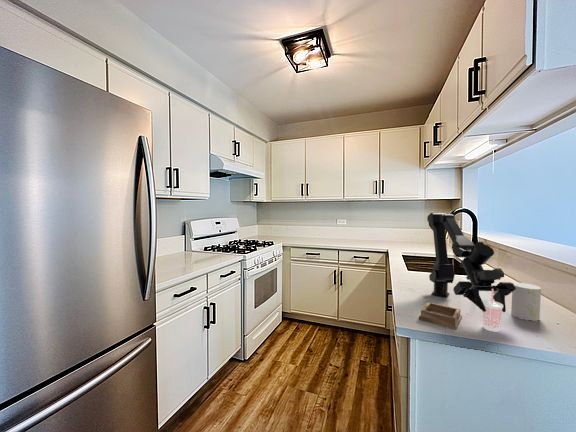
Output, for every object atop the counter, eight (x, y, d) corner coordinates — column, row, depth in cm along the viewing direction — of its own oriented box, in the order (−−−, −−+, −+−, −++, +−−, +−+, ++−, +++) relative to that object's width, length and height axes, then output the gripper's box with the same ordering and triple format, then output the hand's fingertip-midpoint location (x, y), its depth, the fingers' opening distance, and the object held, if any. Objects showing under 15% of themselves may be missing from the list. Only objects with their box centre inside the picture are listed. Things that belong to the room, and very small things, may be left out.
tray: (427, 309, 108) (427, 301, 108) (461, 318, 100) (462, 309, 100) (418, 319, 99) (418, 310, 99) (456, 329, 91) (456, 319, 91)
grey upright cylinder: (529, 322, 97) (531, 290, 96) (505, 313, 104) (507, 283, 104) (545, 319, 99) (546, 288, 98) (520, 311, 107) (522, 281, 106)
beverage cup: (504, 328, 92) (505, 289, 91) (500, 334, 88) (501, 293, 87) (482, 322, 96) (484, 285, 95) (478, 328, 92) (479, 288, 91)
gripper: (458, 259, 95) (477, 300, 85) (513, 260, 94) (539, 302, 84) (446, 275, 103) (462, 314, 93) (496, 275, 102) (517, 315, 92)
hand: (494, 311), depth 90 cm, fingers closed on beverage cup, 6 cm apart
